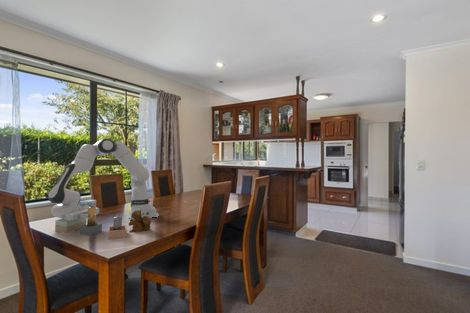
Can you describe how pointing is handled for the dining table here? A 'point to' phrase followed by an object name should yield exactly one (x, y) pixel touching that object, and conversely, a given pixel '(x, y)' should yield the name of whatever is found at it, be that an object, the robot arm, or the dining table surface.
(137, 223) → the stuffed squirrel
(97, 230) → the cradle
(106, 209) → the dining table surface
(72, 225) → the trough
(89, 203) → the light bulb box
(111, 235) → the pink square tray
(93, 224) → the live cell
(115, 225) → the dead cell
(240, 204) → the dining table surface
